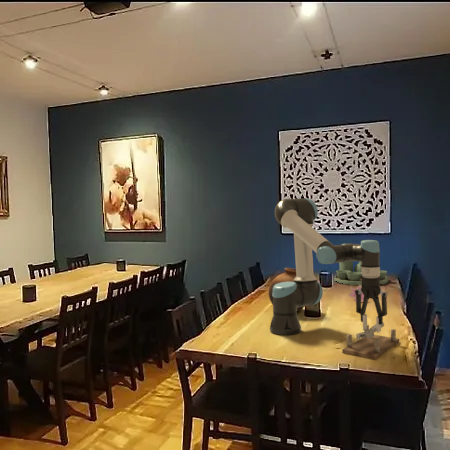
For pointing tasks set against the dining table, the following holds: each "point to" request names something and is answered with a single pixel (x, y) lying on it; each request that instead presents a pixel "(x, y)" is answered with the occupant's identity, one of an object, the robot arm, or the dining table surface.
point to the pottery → (284, 277)
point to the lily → (355, 293)
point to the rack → (370, 345)
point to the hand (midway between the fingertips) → (371, 330)
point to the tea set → (354, 274)
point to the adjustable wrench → (368, 332)
